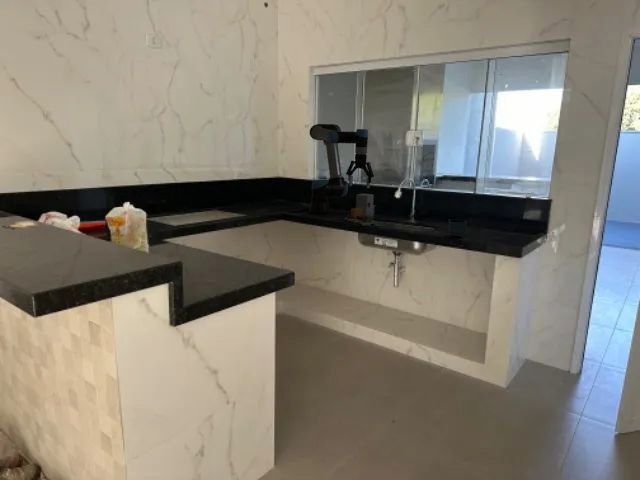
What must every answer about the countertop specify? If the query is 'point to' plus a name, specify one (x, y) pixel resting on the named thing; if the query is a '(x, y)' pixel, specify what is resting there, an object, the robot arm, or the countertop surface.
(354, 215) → the sleeve
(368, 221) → the cord board
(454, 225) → the flower pot
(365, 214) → the supplement box
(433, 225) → the countertop surface
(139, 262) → the countertop surface
